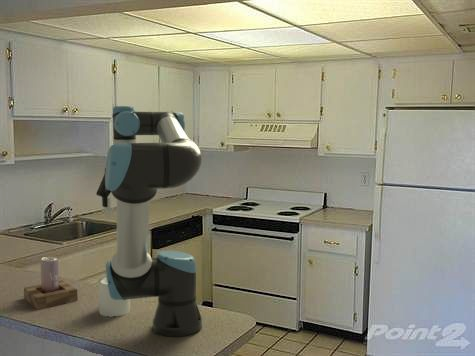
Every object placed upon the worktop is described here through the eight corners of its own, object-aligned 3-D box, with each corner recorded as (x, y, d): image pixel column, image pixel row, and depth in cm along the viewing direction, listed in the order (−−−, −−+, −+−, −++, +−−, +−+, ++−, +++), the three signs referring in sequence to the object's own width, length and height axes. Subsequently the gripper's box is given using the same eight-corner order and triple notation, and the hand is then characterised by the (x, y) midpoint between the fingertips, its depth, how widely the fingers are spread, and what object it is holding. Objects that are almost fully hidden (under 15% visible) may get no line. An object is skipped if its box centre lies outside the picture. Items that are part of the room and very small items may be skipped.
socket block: (77, 300, 183) (77, 289, 182) (37, 309, 174) (37, 297, 174) (62, 290, 194) (62, 280, 193) (24, 298, 185) (23, 287, 184)
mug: (96, 304, 179) (96, 274, 178) (126, 301, 182) (125, 271, 181) (100, 318, 166) (99, 286, 165) (132, 314, 170) (131, 283, 169)
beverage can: (53, 295, 188) (52, 255, 186) (62, 299, 184) (61, 258, 183) (38, 299, 183) (36, 258, 182) (47, 303, 180) (45, 261, 178)
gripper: (151, 150, 184) (152, 209, 187) (85, 153, 168) (86, 216, 171) (162, 151, 179) (163, 211, 181) (94, 154, 163) (96, 220, 165)
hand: (126, 214), depth 176 cm, fingers open, 13 cm apart
